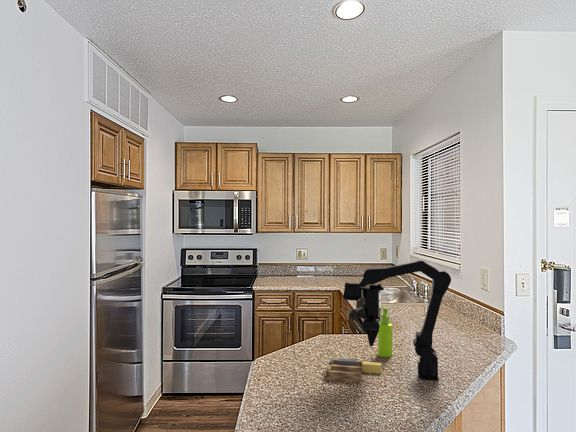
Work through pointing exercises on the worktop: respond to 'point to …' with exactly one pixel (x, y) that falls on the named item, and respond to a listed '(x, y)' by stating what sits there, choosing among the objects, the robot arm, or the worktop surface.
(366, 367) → the yellow rectangular block
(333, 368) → the slot board
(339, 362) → the tall grey block
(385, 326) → the soap dispenser
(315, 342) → the worktop surface
